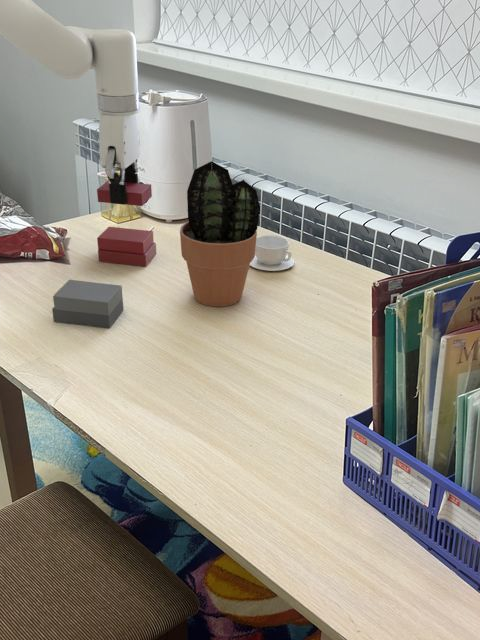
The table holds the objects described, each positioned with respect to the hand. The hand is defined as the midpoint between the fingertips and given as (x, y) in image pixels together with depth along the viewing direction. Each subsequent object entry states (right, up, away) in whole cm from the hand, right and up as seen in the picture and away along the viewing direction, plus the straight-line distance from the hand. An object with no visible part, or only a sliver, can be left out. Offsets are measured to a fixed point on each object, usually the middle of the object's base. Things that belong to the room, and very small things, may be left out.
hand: (124, 197), depth 136 cm
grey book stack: (-3, -24, -16) cm, 29 cm away
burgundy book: (0, 0, 0) cm, 0 cm away
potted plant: (+19, -20, -7) cm, 29 cm away
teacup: (+29, -12, +7) cm, 32 cm away
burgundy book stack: (-1, -11, +6) cm, 13 cm away
